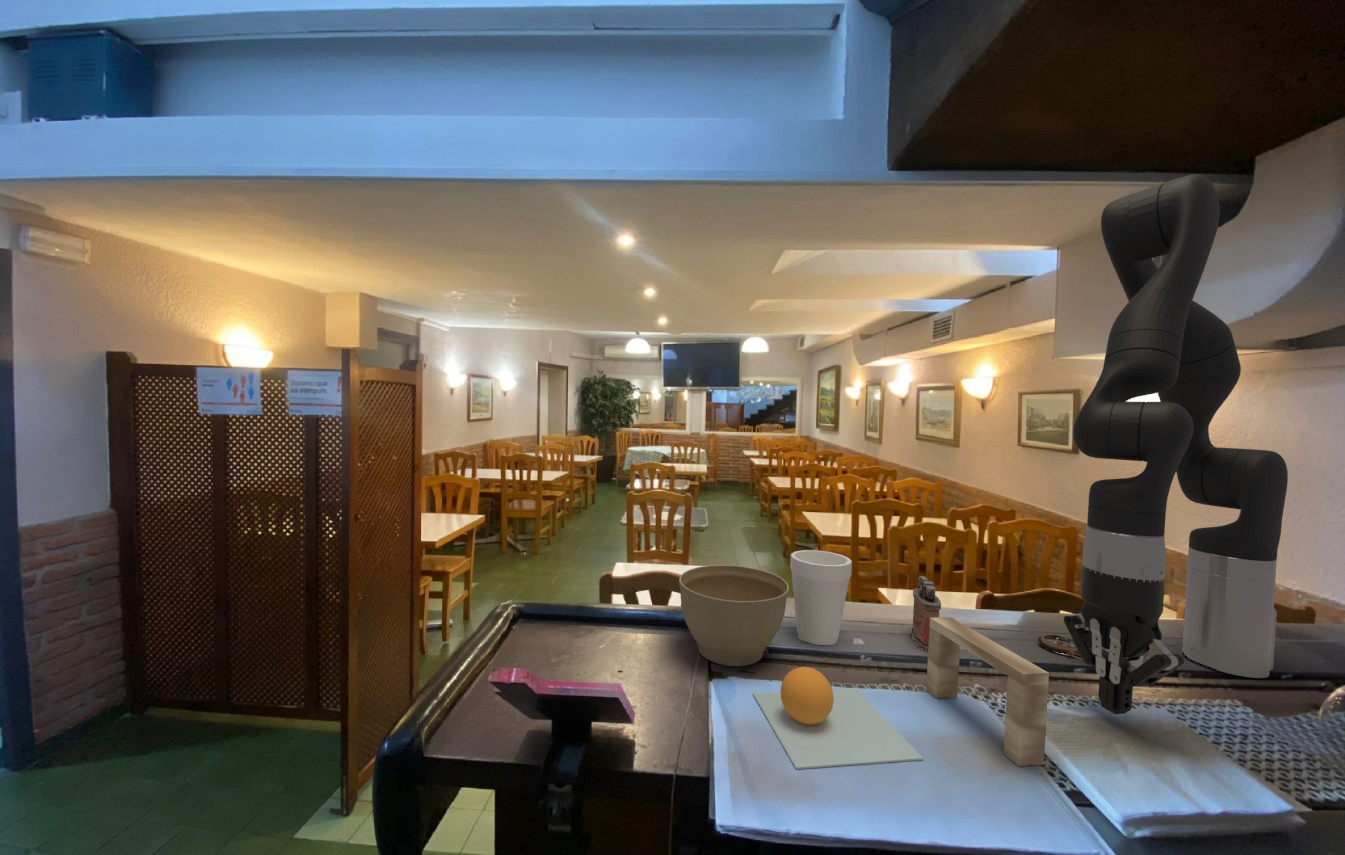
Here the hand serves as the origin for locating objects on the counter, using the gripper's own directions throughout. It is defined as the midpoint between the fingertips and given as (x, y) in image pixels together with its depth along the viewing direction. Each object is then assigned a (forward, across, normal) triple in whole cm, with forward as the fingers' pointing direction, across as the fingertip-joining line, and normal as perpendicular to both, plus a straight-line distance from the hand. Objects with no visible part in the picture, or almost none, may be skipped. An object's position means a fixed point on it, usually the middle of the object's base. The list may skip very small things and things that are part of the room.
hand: (1113, 710), depth 63 cm
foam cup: (+2, +26, +26) cm, 37 cm away
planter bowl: (+2, +22, +42) cm, 47 cm away
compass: (+2, +18, -13) cm, 22 cm away
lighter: (+2, +23, +9) cm, 25 cm away
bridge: (+2, +2, +17) cm, 17 cm away
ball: (-2, +4, +38) cm, 38 cm away
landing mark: (+2, +3, +35) cm, 35 cm away
